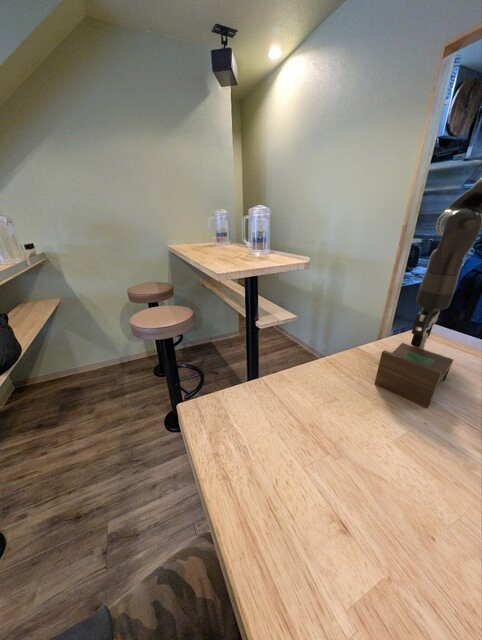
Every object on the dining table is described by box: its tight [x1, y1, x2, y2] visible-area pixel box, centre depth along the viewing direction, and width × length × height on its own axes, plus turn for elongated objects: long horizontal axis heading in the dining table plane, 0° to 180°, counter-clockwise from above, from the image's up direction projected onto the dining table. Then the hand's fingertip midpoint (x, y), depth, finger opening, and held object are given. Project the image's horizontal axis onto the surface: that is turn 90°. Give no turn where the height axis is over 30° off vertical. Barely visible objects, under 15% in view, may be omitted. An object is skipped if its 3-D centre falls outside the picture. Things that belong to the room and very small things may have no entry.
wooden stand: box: [374, 342, 455, 409], centre depth 65 cm, size 16×12×10 cm
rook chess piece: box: [414, 332, 430, 350], centre depth 75 cm, size 4×4×8 cm
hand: (420, 340), depth 74 cm, fingers open, 8 cm apart
